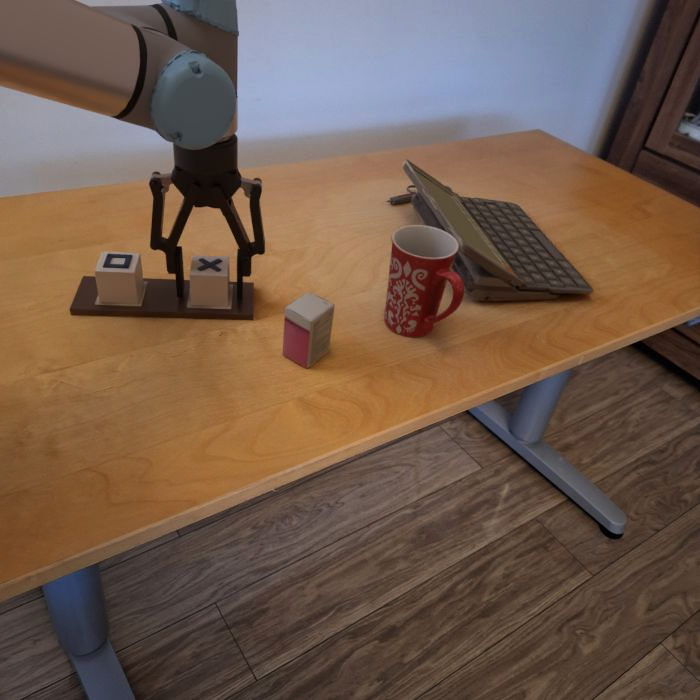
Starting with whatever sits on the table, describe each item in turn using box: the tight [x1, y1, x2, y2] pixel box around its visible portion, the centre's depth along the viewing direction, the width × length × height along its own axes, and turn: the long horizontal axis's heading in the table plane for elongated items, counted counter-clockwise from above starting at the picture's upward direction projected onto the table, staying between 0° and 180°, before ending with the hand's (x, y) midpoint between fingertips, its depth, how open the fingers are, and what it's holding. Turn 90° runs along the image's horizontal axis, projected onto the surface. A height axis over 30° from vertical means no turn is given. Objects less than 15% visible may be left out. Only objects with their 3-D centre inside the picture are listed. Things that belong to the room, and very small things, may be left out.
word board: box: [69, 275, 255, 321], centre depth 87 cm, size 24×8×1 cm, turn 96°
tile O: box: [93, 250, 144, 304], centre depth 84 cm, size 5×5×5 cm
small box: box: [282, 291, 336, 369], centre depth 79 cm, size 5×4×8 cm
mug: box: [383, 224, 465, 338], centre depth 84 cm, size 13×9×14 cm
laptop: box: [401, 159, 594, 302], centre depth 106 cm, size 26×32×10 cm
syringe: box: [382, 184, 453, 205], centre depth 121 cm, size 8×18×2 cm, turn 124°
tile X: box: [188, 254, 231, 306], centre depth 86 cm, size 5×5×5 cm
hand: (210, 292), depth 87 cm, fingers open, 7 cm apart
